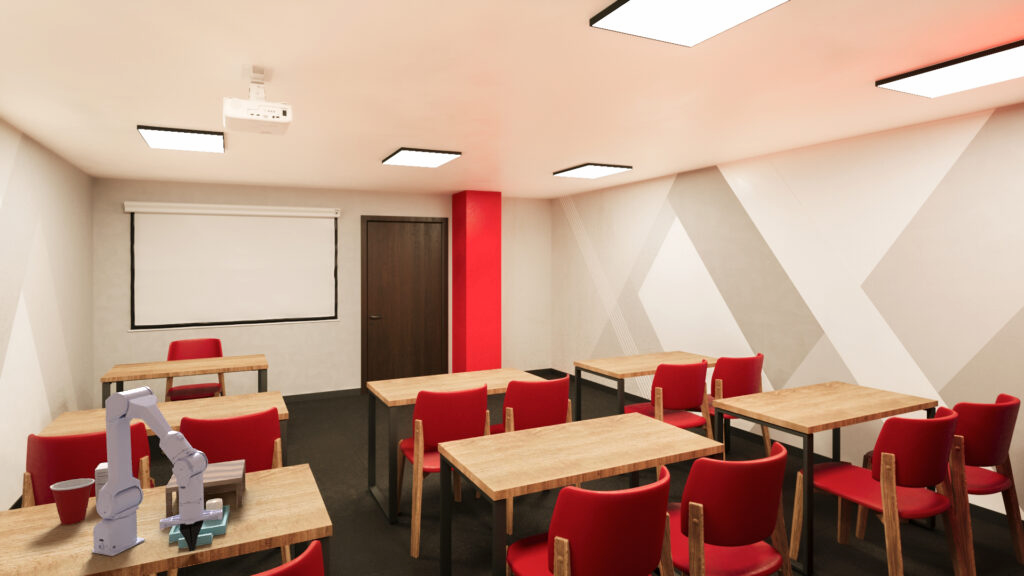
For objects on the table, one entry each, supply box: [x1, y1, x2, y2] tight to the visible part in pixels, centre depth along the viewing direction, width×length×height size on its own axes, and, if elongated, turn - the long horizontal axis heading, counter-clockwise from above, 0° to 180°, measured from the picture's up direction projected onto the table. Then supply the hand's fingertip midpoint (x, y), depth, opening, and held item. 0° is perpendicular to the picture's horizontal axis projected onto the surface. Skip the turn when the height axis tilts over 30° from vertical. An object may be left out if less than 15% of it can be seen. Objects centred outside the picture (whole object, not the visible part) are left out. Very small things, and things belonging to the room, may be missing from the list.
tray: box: [168, 497, 231, 549], centre depth 162 cm, size 21×14×6 cm, turn 23°
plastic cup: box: [49, 478, 95, 526], centre depth 170 cm, size 11×11×12 cm
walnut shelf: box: [164, 459, 247, 518], centre depth 182 cm, size 20×21×10 cm
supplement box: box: [94, 461, 108, 506], centre depth 184 cm, size 7×7×13 cm
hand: (192, 549), depth 148 cm, fingers closed
